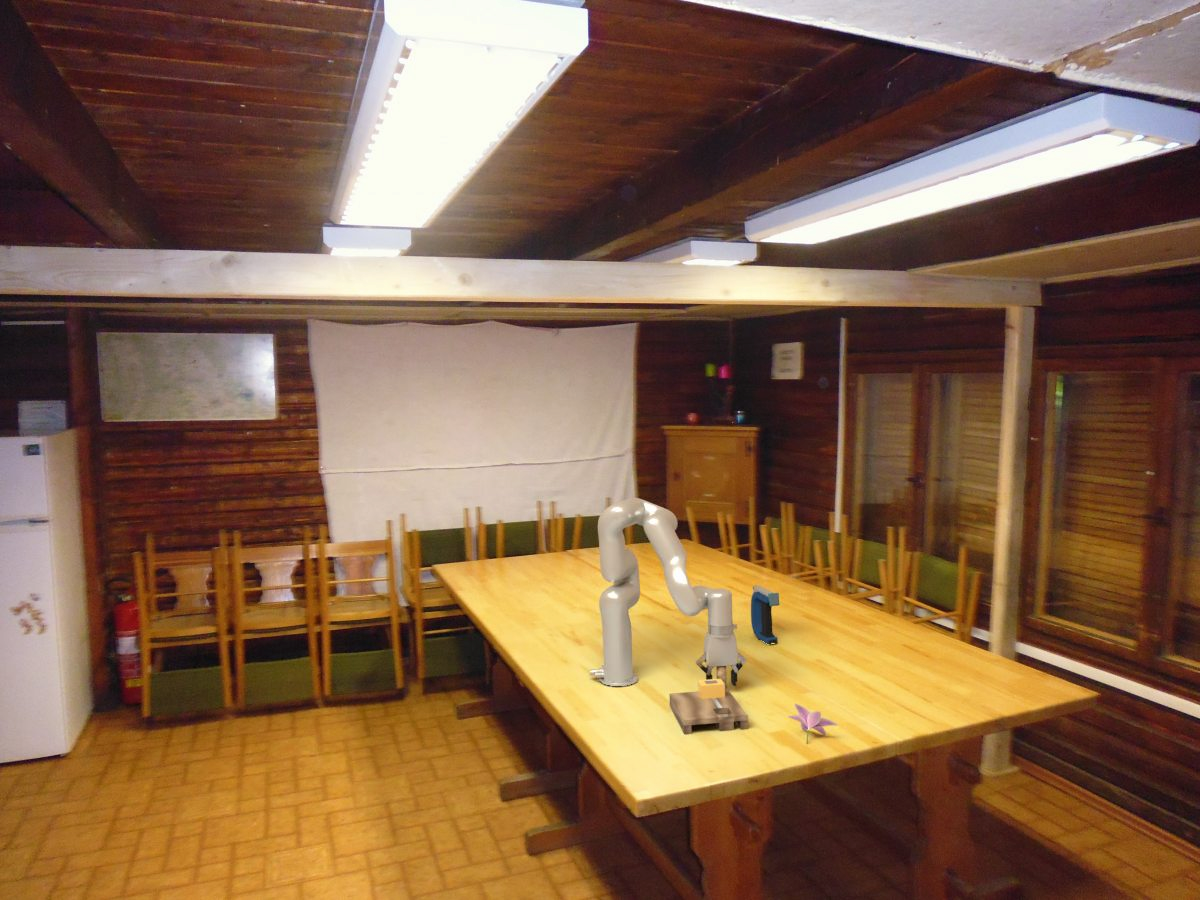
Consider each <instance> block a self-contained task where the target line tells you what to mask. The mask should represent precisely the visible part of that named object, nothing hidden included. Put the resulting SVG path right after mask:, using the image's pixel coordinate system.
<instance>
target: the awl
mask: <svg viewBox="0 0 1200 900" xmlns="http://www.w3.org/2000/svg"><path fill="white" fill-rule="evenodd" d="M716 679H721V680H722V681H723V682H724V684H725V689H728V688H727V687H728V686H727V685H728V684H727V683H728V681H727V666H719V667H716Z"/></svg>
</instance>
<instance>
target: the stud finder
mask: <svg viewBox="0 0 1200 900" xmlns="http://www.w3.org/2000/svg"><path fill="white" fill-rule="evenodd" d="M697 691H698V694H699V695H700V697H701V698H702V699H709V698H722V697H725V684H724V682H723V681H722V680H721V679H717V678H712V679H710V680H706V679H700V680H699V679H698V680H697Z"/></svg>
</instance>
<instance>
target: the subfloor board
mask: <svg viewBox="0 0 1200 900" xmlns="http://www.w3.org/2000/svg"><path fill="white" fill-rule="evenodd" d="M669 707H670V710H671V711H672V713H673V715H674V717H675V719H676V721H677V723H678V725H679V727H680V729H681V730H682V732H683V734H684V735H691V734H692V726H696V725H707V724H714V725H715V726H716V728H717V729H718V731H719V732H726V731H727V732H728V731H734V730H735V729H734V722H735V724H736V725H737V726H738V728H739V730H748V729H749V728H748V725H749V722H748V714H747V713H746V711H745V710H744V708H743V707H742V706H741V705H740V703H739V702H738V700H737V699H736V698H735V697H734V695H733V694H732V693H731V691H730V690H729V689H728V688H727V689H725V697H722V698H709V699H702V698H701V697H700V695H699V694H698V690H696V691H687V692H675V693H674V692H673V693H669Z"/></svg>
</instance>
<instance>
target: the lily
mask: <svg viewBox="0 0 1200 900" xmlns="http://www.w3.org/2000/svg"><path fill="white" fill-rule="evenodd" d="M794 707H795V709H796V711H797V713H798V714H793V715H789V716H787V717H788V718H790V719H793V720H795V721H797V722H799V723H800V727H801V730H802V731H806V730H807V734H806V745H808V742H809V741H808V740H809V732H810V729H814V731H815V730H816V731H817V732H818V733H820V734H821V735H823V736H825V735H826V736H827V733H826V730H825V728H824V727H828V726H829V727H831V726H838V723H836V722H835V721H833V720H830V719H828V718H826V717H822V713H821V711H819V710H816V711H812V712H810V710H809V709H808V708H806V707H804V706H803V705H801V704H798V703H794Z"/></svg>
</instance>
